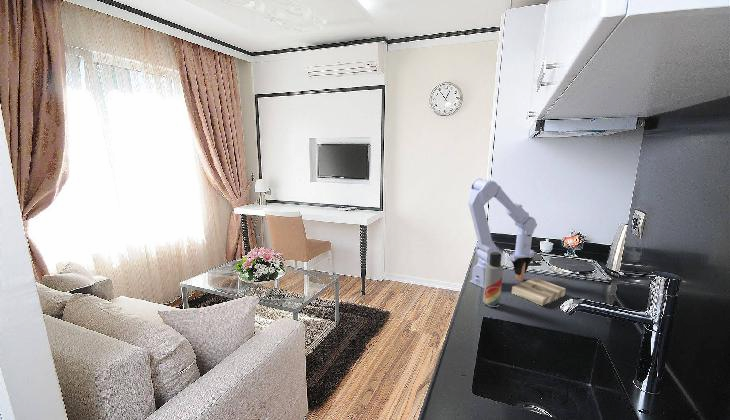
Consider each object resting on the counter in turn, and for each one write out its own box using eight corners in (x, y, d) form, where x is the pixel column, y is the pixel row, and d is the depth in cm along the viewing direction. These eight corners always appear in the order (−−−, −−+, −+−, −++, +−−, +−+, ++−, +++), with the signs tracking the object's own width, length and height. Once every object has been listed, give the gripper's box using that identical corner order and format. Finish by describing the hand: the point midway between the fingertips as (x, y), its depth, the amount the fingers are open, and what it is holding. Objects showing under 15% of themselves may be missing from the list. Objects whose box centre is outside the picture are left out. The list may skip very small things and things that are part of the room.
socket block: (542, 306, 113) (543, 299, 112) (511, 293, 123) (512, 286, 122) (564, 295, 121) (565, 288, 121) (534, 284, 131) (535, 277, 131)
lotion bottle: (496, 310, 111) (501, 256, 107) (480, 304, 114) (484, 253, 110) (501, 304, 115) (506, 252, 111) (486, 299, 119) (490, 249, 115)
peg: (520, 281, 134) (522, 264, 132) (513, 279, 136) (515, 261, 135) (525, 280, 135) (527, 262, 134) (518, 277, 138) (520, 260, 136)
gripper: (522, 248, 125) (519, 280, 128) (542, 242, 133) (538, 272, 136) (506, 244, 131) (503, 274, 134) (526, 238, 139) (523, 267, 141)
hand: (520, 273), depth 135 cm, fingers closed on peg, 3 cm apart
